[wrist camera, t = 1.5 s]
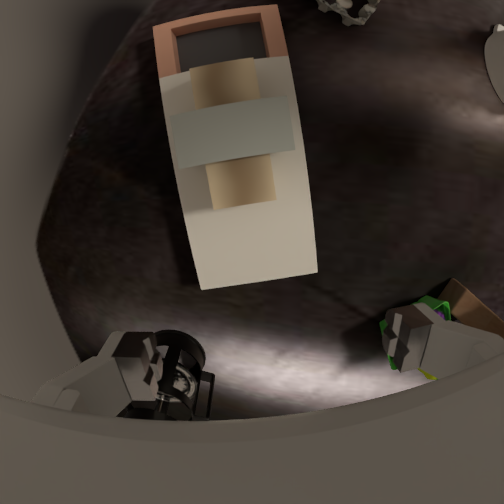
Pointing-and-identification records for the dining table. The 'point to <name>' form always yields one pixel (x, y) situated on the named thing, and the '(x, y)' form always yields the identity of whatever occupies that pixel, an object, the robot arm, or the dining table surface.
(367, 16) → the egg carton
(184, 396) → the french press
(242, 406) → the dining table surface
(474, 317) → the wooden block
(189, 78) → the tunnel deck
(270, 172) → the maple bar
